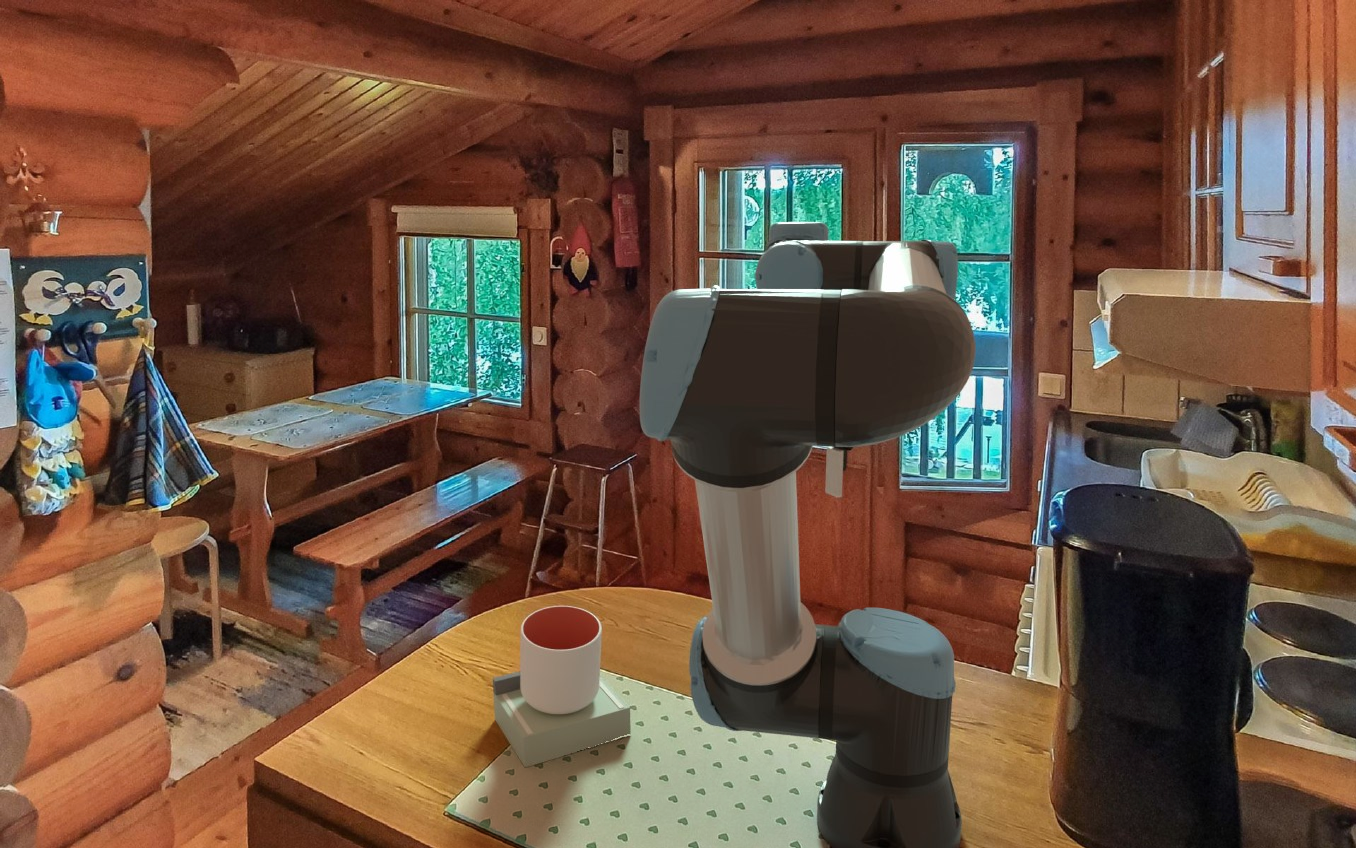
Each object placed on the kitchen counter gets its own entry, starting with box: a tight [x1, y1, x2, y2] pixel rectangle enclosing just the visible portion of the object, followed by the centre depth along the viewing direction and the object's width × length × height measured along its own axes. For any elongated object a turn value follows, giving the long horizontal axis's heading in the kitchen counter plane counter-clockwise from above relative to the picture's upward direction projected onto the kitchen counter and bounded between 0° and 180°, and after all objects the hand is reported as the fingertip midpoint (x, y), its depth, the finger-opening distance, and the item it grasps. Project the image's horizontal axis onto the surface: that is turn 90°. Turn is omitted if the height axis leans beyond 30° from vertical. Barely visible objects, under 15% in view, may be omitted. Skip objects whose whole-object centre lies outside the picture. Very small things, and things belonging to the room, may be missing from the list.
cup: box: [519, 605, 603, 714], centre depth 114 cm, size 10×10×10 cm
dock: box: [492, 671, 632, 768], centre depth 116 cm, size 12×14×6 cm
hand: (792, 502), depth 121 cm, fingers open, 13 cm apart
